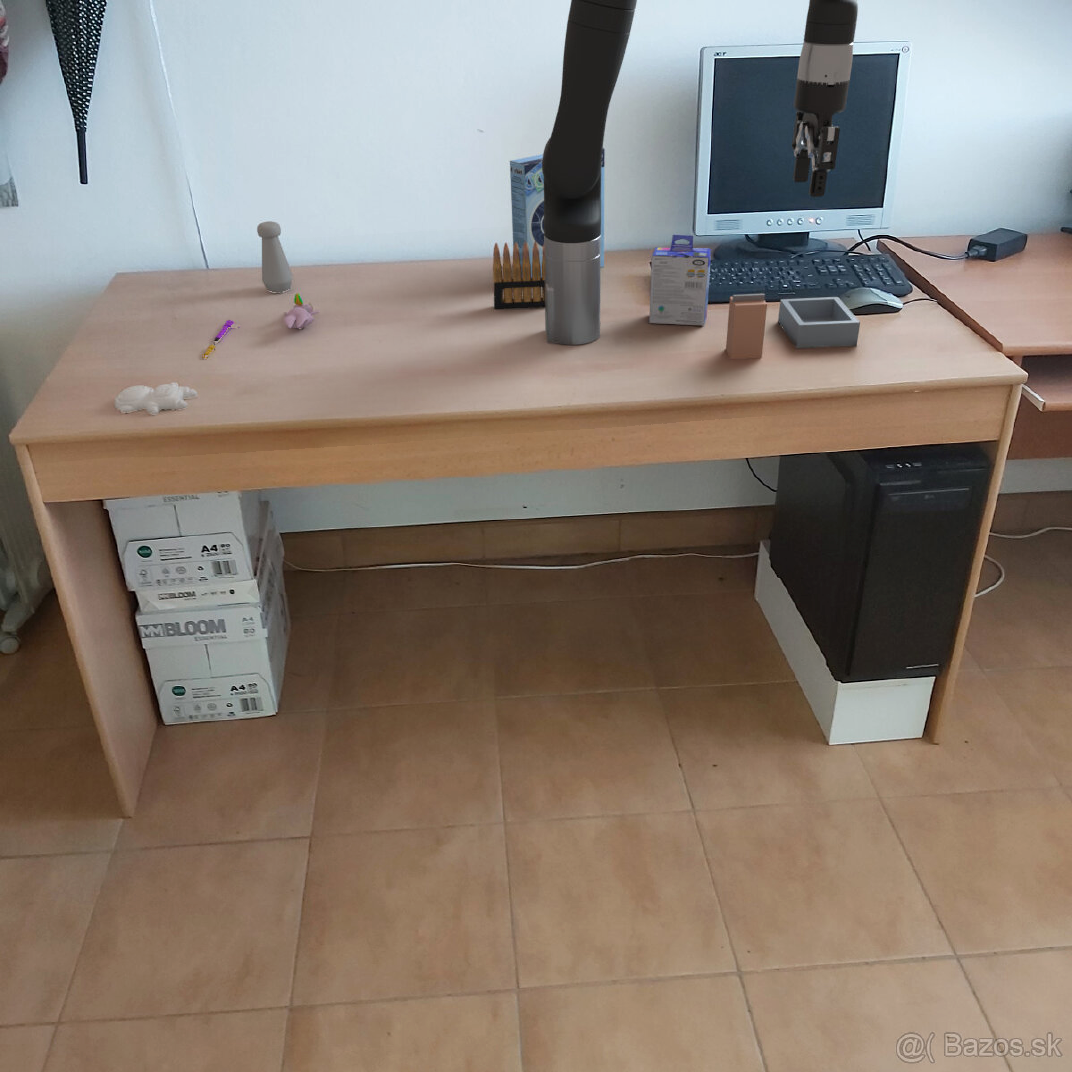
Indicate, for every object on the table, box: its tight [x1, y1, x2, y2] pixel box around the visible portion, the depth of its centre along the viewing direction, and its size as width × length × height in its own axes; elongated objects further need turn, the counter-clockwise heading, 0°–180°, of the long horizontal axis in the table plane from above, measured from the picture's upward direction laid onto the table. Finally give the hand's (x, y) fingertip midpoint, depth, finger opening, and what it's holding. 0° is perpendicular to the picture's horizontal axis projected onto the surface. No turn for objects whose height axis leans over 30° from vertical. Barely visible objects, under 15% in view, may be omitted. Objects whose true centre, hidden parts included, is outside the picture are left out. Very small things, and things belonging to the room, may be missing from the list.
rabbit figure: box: [283, 292, 319, 329], centre depth 178 cm, size 6×6×15 cm
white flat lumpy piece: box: [114, 382, 198, 414], centre depth 154 cm, size 9×12×3 cm
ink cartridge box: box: [648, 234, 712, 327], centre depth 173 cm, size 10×6×14 cm, turn 78°
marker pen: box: [202, 319, 234, 359], centre depth 175 cm, size 3×1×16 cm
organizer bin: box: [777, 296, 861, 349], centre depth 169 cm, size 10×12×4 cm
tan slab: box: [725, 293, 768, 360], centre depth 161 cm, size 5×4×10 cm
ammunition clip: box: [492, 241, 545, 311], centre depth 182 cm, size 11×2×12 cm, turn 93°
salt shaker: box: [256, 220, 294, 292], centre depth 192 cm, size 6×6×13 cm
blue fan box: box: [509, 147, 606, 278], centre depth 193 cm, size 20×5×23 cm, turn 127°
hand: (807, 188), depth 157 cm, fingers open, 8 cm apart
